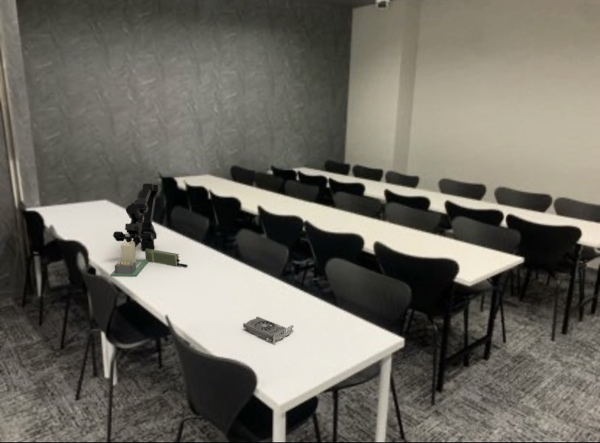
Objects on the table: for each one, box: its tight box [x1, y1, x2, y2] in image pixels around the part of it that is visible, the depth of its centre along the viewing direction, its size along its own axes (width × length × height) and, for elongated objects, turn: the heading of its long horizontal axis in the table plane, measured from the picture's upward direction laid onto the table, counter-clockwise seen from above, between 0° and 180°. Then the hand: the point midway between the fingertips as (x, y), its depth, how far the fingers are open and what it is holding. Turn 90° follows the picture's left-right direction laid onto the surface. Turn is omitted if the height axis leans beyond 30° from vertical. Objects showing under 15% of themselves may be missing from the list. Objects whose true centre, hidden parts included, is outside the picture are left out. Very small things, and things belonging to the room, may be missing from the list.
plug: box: [120, 240, 137, 265], centre depth 224 cm, size 5×5×13 cm
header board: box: [110, 259, 149, 278], centre depth 226 cm, size 20×12×6 cm, turn 1°
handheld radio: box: [144, 249, 188, 268], centre depth 234 cm, size 7×3×25 cm
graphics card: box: [242, 316, 294, 346], centre depth 171 cm, size 17×4×12 cm
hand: (130, 251), depth 226 cm, fingers closed, pressing on plug
